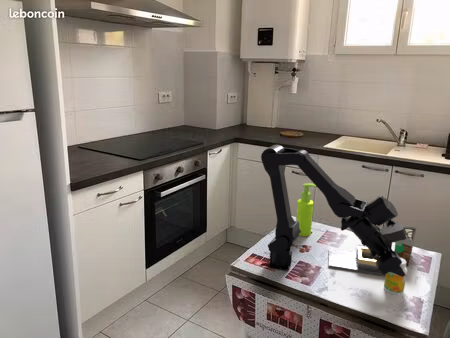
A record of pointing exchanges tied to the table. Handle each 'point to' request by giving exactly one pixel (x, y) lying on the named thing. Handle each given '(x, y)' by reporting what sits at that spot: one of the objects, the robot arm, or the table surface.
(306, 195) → the soap dispenser
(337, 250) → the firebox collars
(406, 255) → the food container
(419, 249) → the table surface
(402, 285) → the supplement bottle
